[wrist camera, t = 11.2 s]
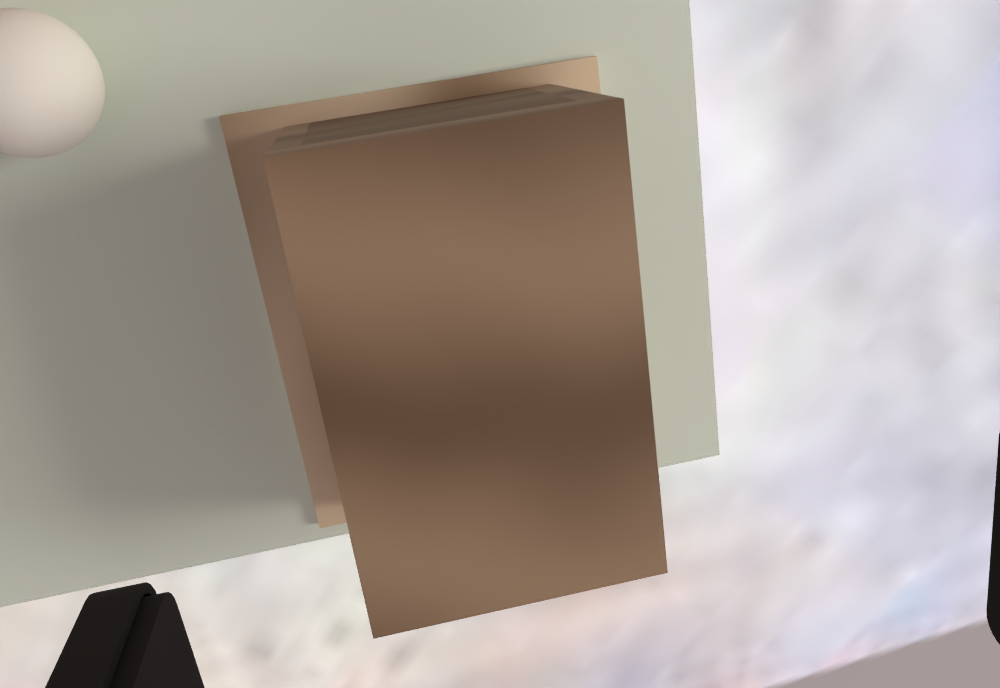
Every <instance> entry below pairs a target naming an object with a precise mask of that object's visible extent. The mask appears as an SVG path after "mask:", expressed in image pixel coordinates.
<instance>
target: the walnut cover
mask: <svg viewBox="0 0 1000 688" xmlns="http://www.w3.org/2000/svg"><path fill="white" fill-rule="evenodd" d="M263 161H264V165H265V170H266V174H267V178H268V183H269V187H270V191H271V196H272V200H273V204H274V209H275V213H276V218H277V222H278V226H279V231H280V235H281V239H282V244H283V248H284V252H285V257H286V261H287V265H288V270H289V274H290V278H291V283H292V287H293V291H294V296H295V300H296V304H297V309H298V313H299V317H300V322H301V326H302V330H303V335H304V339H305V343H306V348H307V352H308V356H309V361H310V365H311V369H312V374H313V378H314V382H315V387H316V391H317V395H318V400H319V404H320V408H321V413H322V417H323V421H324V426H325V430H326V434H327V439H328V443H329V447H330V452H331V456H332V460H333V465H334V469H335V473H336V478H337V482H338V486H339V491H340V495H341V500H342V504H343V508H344V513H345V517H346V521H347V526H348V530H349V534H350V539H351V543H352V547H353V552H354V556H355V560H356V565H357V569H358V573H359V578H360V582H361V586H362V591H363V595H364V599H365V604H366V608H367V612H368V617H369V621H370V625H371V630H372V634H373V638H378V637H383V636H387V635H392V634H396V633H401V632H405V631H409V630H414V629H418V628H423V627H427V626H432V625H436V624H441V623H445V622H450V621H454V620H459V619H463V618H467V617H472V616H476V615H481V614H485V613H490V612H494V611H499V610H503V609H508V608H512V607H517V606H521V605H525V604H530V603H534V602H539V601H543V600H548V599H552V598H557V597H561V596H566V595H570V594H575V593H579V592H584V591H588V590H592V589H597V588H601V587H606V586H610V585H615V584H619V583H624V582H628V581H633V580H637V579H642V578H646V577H650V576H655V575H659V574H664V573H668V572H667V561H666V550H665V539H664V529H663V518H662V507H661V496H660V485H659V474H658V463H657V452H656V442H655V431H654V420H653V409H652V398H651V387H650V376H649V365H648V355H647V344H646V333H645V322H644V311H643V300H642V289H641V278H640V268H639V257H638V246H637V235H636V224H635V213H634V202H633V191H632V181H631V170H630V159H629V148H628V137H627V126H626V115H625V104H624V99H623V98H618V97H613V96H608V95H603V94H598V93H593V92H588V91H583V90H578V89H574V88H569V87H564V86H559V85H554V84H548V85H541V86H535V87H529V88H523V89H516V90H510V91H504V92H498V93H492V94H485V95H479V96H473V97H467V98H460V99H454V100H448V101H442V102H435V103H429V104H423V105H417V106H411V107H404V108H398V109H392V110H386V111H379V112H373V113H367V114H361V115H355V116H348V117H342V118H336V119H330V120H323V121H317V122H311V123H305V124H298V125H292V126H286V127H284V128H283V130H282V131H281V133H280V134H279V135H278V137H277V138H276V140H275V141H274V143H273V144H272V145H271V147H270V148H269V150H268V151H267V153H266V154H265V155H264V157H263Z"/></svg>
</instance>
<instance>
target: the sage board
mask: <svg viewBox="0 0 1000 688" xmlns="http://www.w3.org/2000/svg"><path fill="white" fill-rule="evenodd" d="M12 7H13V8H25V9H31V10H35V11H38V12H41V13H44V14H47V15H50V16H52V17H54V18H56V19H58V20H60V21H61V22H63V23H65V24H66V25H67V26H69V27H70V28H71V29H73V30H74V31H75V32H76V33H77V34H78V35H79V36H80V37H81V38H82V39H83V40H84V41H85V42H86V44H87V45H88V46H89V47H90V49H91V50H92V52H93V54H94V55H95V57H96V59H97V61H98V63H99V66H100V68H101V71H102V75H103V79H104V87H105V98H104V105H103V110H102V113H101V115H100V118H99V120H98V122H97V124H96V126H95V128H94V129H93V130H92V132H91V133H90V134H89V135H88V136H87V137H86V138H85V139H84V140H83V141H82V142H81V143H79V144H78V145H77V146H75V147H73V148H72V149H70V150H68V151H66V152H63V153H61V154H58V155H54V156H49V157H42V158H24V157H18V156H13V155H9V154H6V153H2V152H0V607H3V606H8V605H13V604H17V603H22V602H27V601H32V600H36V599H41V598H46V597H50V596H55V595H60V594H65V593H69V592H74V591H79V590H84V589H88V588H93V587H98V586H102V585H107V584H112V583H117V582H121V581H126V580H131V579H135V578H140V577H145V576H150V575H154V574H159V573H164V572H168V571H173V570H178V569H183V568H187V567H192V566H197V565H201V564H206V563H211V562H216V561H220V560H225V559H230V558H234V557H239V556H244V555H249V554H253V553H258V552H263V551H268V550H272V549H277V548H282V547H286V546H291V545H296V544H301V543H305V542H310V541H315V540H319V539H324V538H329V537H334V536H338V535H343V534H348V533H349V530H348V526H347V523H344V524H339V525H334V526H329V527H325V528H320V527H319V523H318V519H317V515H316V511H315V507H314V503H313V499H312V495H311V490H310V486H309V482H308V478H307V474H306V470H305V466H304V462H303V458H302V454H301V450H300V445H299V441H298V437H297V433H296V429H295V425H294V421H293V417H292V413H291V409H290V405H289V400H288V396H287V392H286V388H285V384H284V380H283V376H282V372H281V368H280V364H279V360H278V355H277V351H276V347H275V343H274V339H273V335H272V331H271V327H270V323H269V319H268V315H267V310H266V306H265V302H264V298H263V294H262V290H261V286H260V282H259V278H258V274H257V270H256V266H255V261H254V257H253V253H252V249H251V245H250V241H249V237H248V233H247V229H246V225H245V221H244V216H243V212H242V208H241V204H240V200H239V196H238V192H237V188H236V184H235V180H234V176H233V171H232V167H231V163H230V159H229V155H228V151H227V147H226V143H225V139H224V135H223V131H222V126H221V122H220V118H219V116H221V115H226V114H233V113H239V112H245V111H251V110H258V109H264V108H270V107H277V106H283V105H289V104H295V103H302V102H308V101H314V100H320V99H327V98H333V97H339V96H346V95H352V94H358V93H364V92H371V91H377V90H383V89H390V88H396V87H402V86H408V85H415V84H421V83H427V82H433V81H440V80H446V79H452V78H459V77H465V76H471V75H477V74H484V73H490V72H496V71H502V70H509V69H515V68H521V67H528V66H534V65H540V64H546V63H553V62H559V61H565V60H571V59H578V58H584V57H590V56H597V60H598V70H599V79H600V89H601V94H603V95H608V96H613V97H618V98H623V99H624V104H625V115H626V126H627V137H628V148H629V159H630V170H631V181H632V191H633V202H634V213H635V224H636V235H637V246H638V257H639V268H640V278H641V289H642V300H643V311H644V322H645V333H646V344H647V355H648V365H649V376H650V387H651V398H652V409H653V420H654V431H655V442H656V452H657V463H658V468H659V467H664V466H669V465H673V464H678V463H683V462H687V461H692V460H697V459H702V458H706V457H711V456H716V455H719V441H718V426H717V411H716V396H715V381H714V366H713V351H712V336H711V321H710V306H709V291H708V276H707V261H706V246H705V231H704V216H703V201H702V186H701V171H700V156H699V142H698V127H697V112H696V97H695V82H694V67H693V52H692V37H691V22H690V7H689V0H0V8H12Z"/></svg>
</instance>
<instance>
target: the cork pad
mask: <svg viewBox="0 0 1000 688" xmlns="http://www.w3.org/2000/svg"><path fill="white" fill-rule="evenodd" d="M548 84H554V85H559V86H564V87H569V88H574V89H578V90H583V91H588V92H593V93H598V94H601V89H600V79H599V70H598V60H597V56H590V57H584V58H578V59H571V60H565V61H559V62H553V63H546V64H540V65H534V66H528V67H521V68H515V69H509V70H502V71H496V72H490V73H484V74H477V75H471V76H465V77H459V78H452V79H446V80H440V81H433V82H427V83H421V84H415V85H408V86H402V87H396V88H390V89H383V90H377V91H371V92H364V93H358V94H352V95H346V96H339V97H333V98H327V99H320V100H314V101H308V102H302V103H295V104H289V105H283V106H277V107H270V108H264V109H258V110H251V111H245V112H239V113H233V114H226V115H221V116H219V118H220V122H221V126H222V131H223V135H224V139H225V143H226V147H227V151H228V155H229V159H230V163H231V167H232V171H233V176H234V180H235V184H236V188H237V192H238V196H239V200H240V204H241V208H242V212H243V216H244V221H245V225H246V229H247V233H248V237H249V241H250V245H251V249H252V253H253V257H254V261H255V266H256V270H257V274H258V278H259V282H260V286H261V290H262V294H263V298H264V302H265V306H266V310H267V315H268V319H269V323H270V327H271V331H272V335H273V339H274V343H275V347H276V351H277V355H278V360H279V364H280V368H281V372H282V376H283V380H284V384H285V388H286V392H287V396H288V400H289V405H290V409H291V413H292V417H293V421H294V425H295V429H296V433H297V437H298V441H299V445H300V450H301V454H302V458H303V462H304V466H305V470H306V474H307V478H308V482H309V486H310V490H311V495H312V499H313V503H314V507H315V511H316V515H317V519H318V523H319V527H320V528H325V527H329V526H334V525H339V524H344V523H347V521H346V517H345V513H344V508H343V504H342V500H341V495H340V491H339V486H338V482H337V478H336V473H335V469H334V465H333V460H332V456H331V452H330V447H329V443H328V439H327V434H326V430H325V426H324V421H323V417H322V413H321V408H320V404H319V400H318V395H317V391H316V387H315V382H314V378H313V374H312V369H311V365H310V361H309V356H308V352H307V348H306V343H305V339H304V335H303V330H302V326H301V322H300V317H299V313H298V309H297V304H296V300H295V296H294V291H293V287H292V283H291V278H290V274H289V270H288V265H287V261H286V257H285V252H284V248H283V244H282V239H281V235H280V231H279V226H278V222H277V218H276V213H275V209H274V204H273V200H272V196H271V191H270V187H269V183H268V178H267V174H266V170H265V165H264V161H263V157H264V155H265V154H266V153H267V151H268V150H269V148H270V147H271V145H272V144H273V143H274V141H275V140H276V138H277V137H278V135H279V134H280V133H281V131H282V130H283V128H284V127H286V126H292V125H298V124H305V123H311V122H317V121H323V120H330V119H336V118H342V117H348V116H355V115H361V114H367V113H373V112H379V111H386V110H392V109H398V108H404V107H411V106H417V105H423V104H429V103H435V102H442V101H448V100H454V99H460V98H467V97H473V96H479V95H485V94H492V93H498V92H504V91H510V90H516V89H523V88H529V87H535V86H541V85H548Z"/></svg>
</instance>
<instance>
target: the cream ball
mask: <svg viewBox="0 0 1000 688" xmlns="http://www.w3.org/2000/svg"><path fill="white" fill-rule="evenodd" d="M104 98H105V87H104V79H103V75H102V71H101V68H100V66H99V63H98V61H97V59H96V57H95V55H94V54H93V52H92V50H91V49H90V47H89V46H88V45H87V44H86V42H85V41H84V40H83V39H82V38H81V37H80V36H79V35H78V34H77V33H76V32H75V31H74V30H73V29H71V28H70V27H69V26H67V25H66V24H65V23H63V22H61V21H60V20H58V19H56V18H54V17H52V16H50V15H47V14H44V13H41V12H38V11H35V10H31V9H25V8H13V7H12V8H0V152H2V153H6V154H9V155H13V156H18V157H24V158H42V157H49V156H54V155H58V154H61V153H63V152H66V151H68V150H70V149H72V148H73V147H75V146H77V145H78V144H79V143H81V142H82V141H83V140H84V139H85V138H86V137H87V136H88V135H89V134H90V133H91V132H92V130H93V129H94V128H95V126H96V124H97V122H98V120H99V118H100V115H101V113H102V110H103V105H104Z"/></svg>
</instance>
